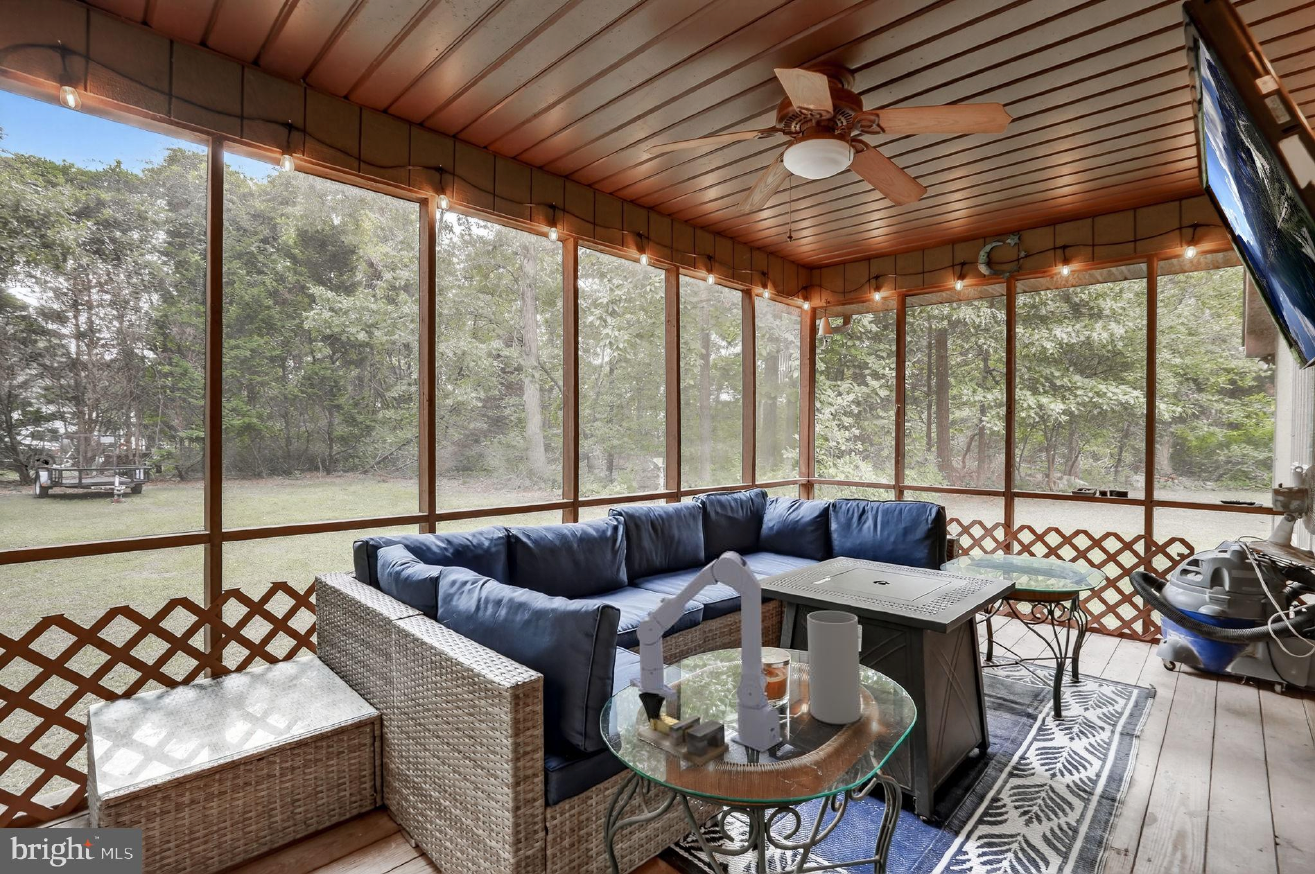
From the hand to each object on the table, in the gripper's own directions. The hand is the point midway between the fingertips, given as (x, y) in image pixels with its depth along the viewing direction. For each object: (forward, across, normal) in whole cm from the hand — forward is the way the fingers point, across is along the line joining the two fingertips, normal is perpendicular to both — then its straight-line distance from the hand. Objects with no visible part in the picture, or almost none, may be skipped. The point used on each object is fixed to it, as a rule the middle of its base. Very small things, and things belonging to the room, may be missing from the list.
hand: (653, 722), depth 157 cm
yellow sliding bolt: (+1, +7, 0) cm, 7 cm away
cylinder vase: (+3, +28, +38) cm, 47 cm away
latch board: (+2, +10, 0) cm, 10 cm away
